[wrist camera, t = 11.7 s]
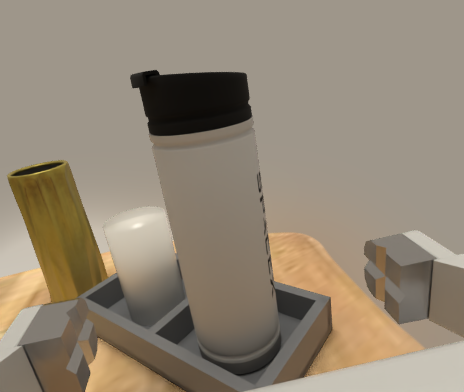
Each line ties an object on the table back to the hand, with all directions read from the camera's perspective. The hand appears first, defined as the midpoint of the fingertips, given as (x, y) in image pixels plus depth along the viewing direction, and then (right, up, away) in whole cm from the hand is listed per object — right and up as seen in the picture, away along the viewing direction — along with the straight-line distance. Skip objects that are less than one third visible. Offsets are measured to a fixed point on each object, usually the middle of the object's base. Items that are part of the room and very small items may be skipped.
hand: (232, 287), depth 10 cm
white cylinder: (-7, -8, +22) cm, 24 cm away
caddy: (-3, -9, +19) cm, 21 cm away
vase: (-16, -8, +27) cm, 33 cm away
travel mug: (+1, -9, +16) cm, 19 cm away
